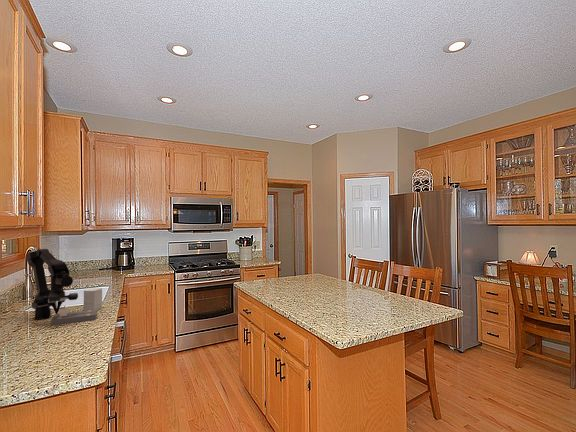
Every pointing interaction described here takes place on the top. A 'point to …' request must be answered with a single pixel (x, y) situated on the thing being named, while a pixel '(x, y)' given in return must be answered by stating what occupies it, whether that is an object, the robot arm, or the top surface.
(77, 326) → the top surface
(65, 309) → the fader
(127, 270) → the top surface
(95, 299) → the supplement box
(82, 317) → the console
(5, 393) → the top surface
